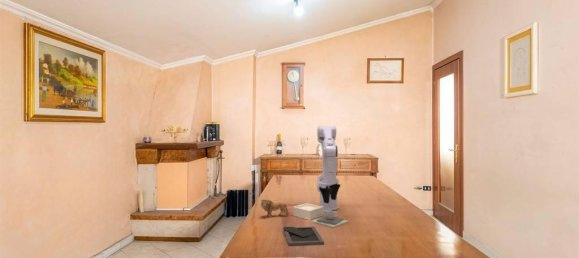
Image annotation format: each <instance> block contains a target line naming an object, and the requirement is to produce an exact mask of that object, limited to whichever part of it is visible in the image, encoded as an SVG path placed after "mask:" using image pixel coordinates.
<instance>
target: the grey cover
mask: <svg viewBox="0 0 579 258" xmlns="http://www.w3.org/2000/svg"><path fill="white" fill-rule="evenodd" d="M337 213H338V212H337V211H336V210H333V211H330V210H324V211H323V216H320V217H319V218H320V219H319V218H317V219H318V220H317V222H321V223H326V224H332V225H336V224H338V223H339V222H341V221H342V220H344V218H343V217H337V216H338V214H337Z"/></svg>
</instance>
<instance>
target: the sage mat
mask: <svg viewBox="0 0 579 258" xmlns="http://www.w3.org/2000/svg"><path fill="white" fill-rule="evenodd" d="M320 218H321V217H318V218H315V219H312V220H311V222H312V223H314V224H319V225H323V226H325V227H329V228H336V227H338V226H342V225H344V224H346V223H349V220H348V219H347V220H346V219H343V220H342V221H341V222H339V223H338V224H336V225H332V224H326V223H321V222H317V220H318V219H320Z"/></svg>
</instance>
